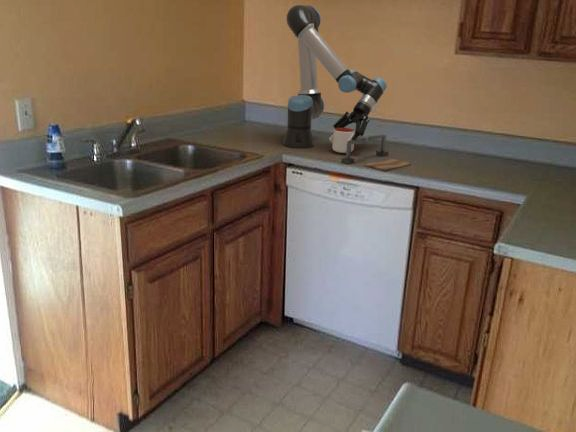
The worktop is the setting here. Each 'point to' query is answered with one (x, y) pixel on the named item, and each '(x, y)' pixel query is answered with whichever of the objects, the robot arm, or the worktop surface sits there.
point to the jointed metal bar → (380, 152)
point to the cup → (342, 139)
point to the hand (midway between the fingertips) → (339, 143)
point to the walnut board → (387, 164)
